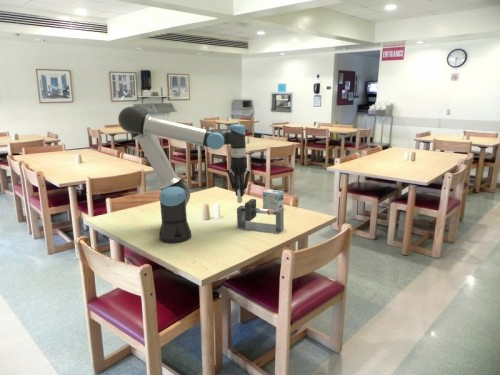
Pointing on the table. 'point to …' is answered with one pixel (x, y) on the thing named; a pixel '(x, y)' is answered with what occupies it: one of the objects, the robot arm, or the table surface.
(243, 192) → the robot arm
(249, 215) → the ring
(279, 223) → the pipe rig
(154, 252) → the table surface
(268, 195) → the light bulb box
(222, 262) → the table surface
